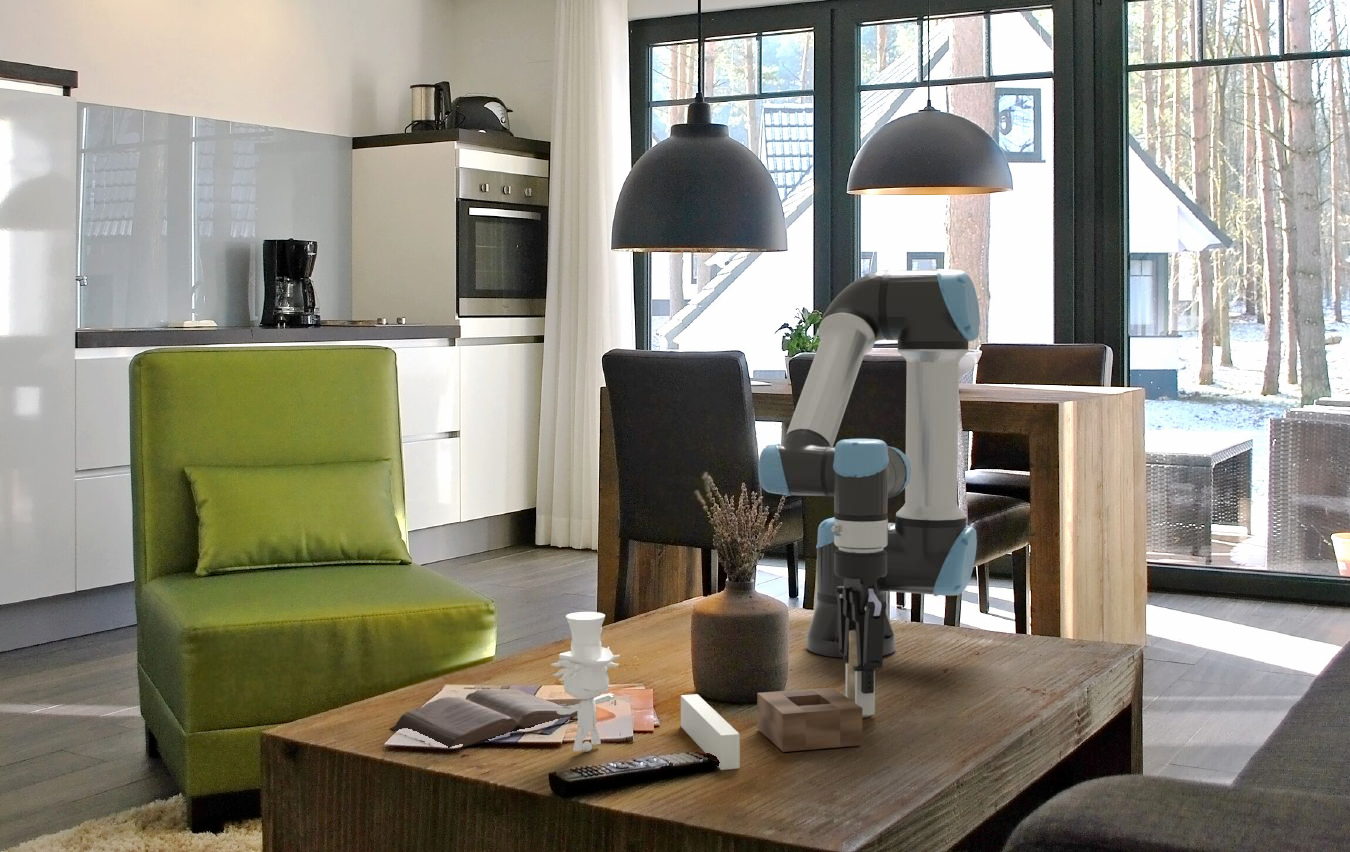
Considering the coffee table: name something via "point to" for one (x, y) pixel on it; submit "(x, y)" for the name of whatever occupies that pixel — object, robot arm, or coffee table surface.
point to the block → (809, 719)
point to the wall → (710, 731)
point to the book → (479, 716)
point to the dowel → (853, 665)
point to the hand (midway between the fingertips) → (859, 710)
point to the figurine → (586, 674)
